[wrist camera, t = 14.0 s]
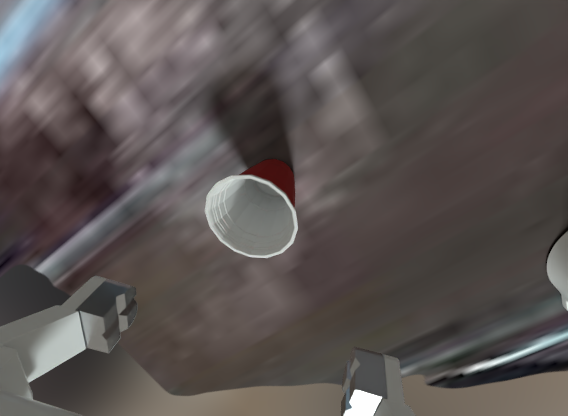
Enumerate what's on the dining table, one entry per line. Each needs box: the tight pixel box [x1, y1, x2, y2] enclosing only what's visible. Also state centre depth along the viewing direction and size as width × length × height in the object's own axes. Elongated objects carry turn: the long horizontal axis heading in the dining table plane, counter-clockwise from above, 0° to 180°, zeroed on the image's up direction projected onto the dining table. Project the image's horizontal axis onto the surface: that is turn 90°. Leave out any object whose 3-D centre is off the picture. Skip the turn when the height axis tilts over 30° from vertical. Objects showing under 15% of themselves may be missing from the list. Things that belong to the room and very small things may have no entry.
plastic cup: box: [205, 159, 298, 258], centre depth 42 cm, size 11×11×12 cm
